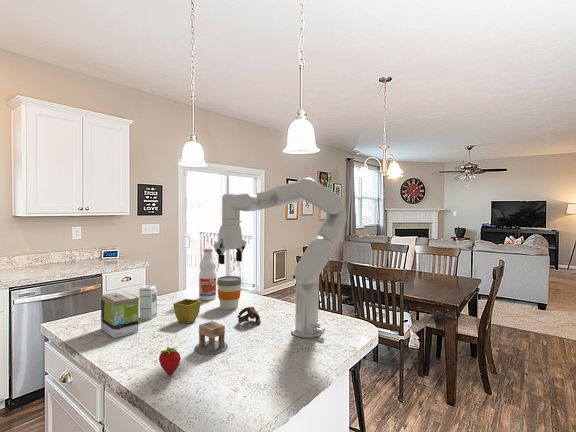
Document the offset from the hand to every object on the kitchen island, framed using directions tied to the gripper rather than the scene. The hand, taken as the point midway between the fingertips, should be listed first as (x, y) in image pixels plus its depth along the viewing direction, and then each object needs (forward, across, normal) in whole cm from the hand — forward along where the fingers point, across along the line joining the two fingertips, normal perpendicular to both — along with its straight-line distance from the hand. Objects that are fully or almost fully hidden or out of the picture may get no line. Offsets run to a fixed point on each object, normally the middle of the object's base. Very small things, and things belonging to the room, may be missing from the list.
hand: (230, 262), depth 144 cm
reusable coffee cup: (+28, -19, -23) cm, 41 cm away
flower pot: (+29, +8, -20) cm, 36 cm away
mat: (+28, +18, +11) cm, 35 cm away
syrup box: (+28, +17, -38) cm, 50 cm away
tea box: (+29, +33, -31) cm, 54 cm away
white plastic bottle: (+28, -21, -44) cm, 56 cm away
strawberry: (+28, +39, +18) cm, 52 cm away
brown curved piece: (+29, -10, +2) cm, 30 cm away
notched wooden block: (+28, +18, +11) cm, 35 cm away
